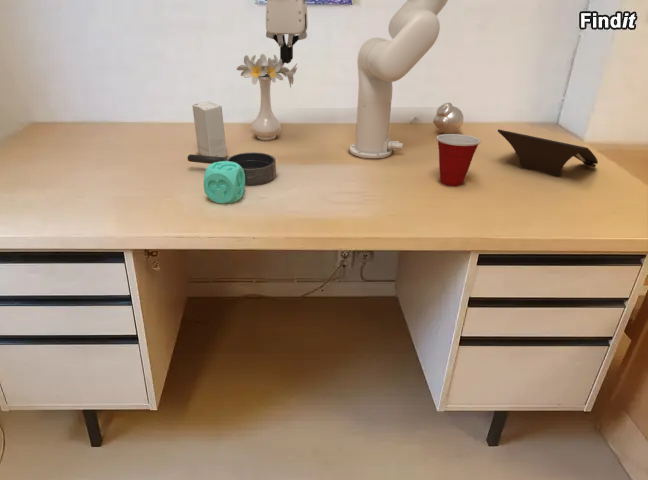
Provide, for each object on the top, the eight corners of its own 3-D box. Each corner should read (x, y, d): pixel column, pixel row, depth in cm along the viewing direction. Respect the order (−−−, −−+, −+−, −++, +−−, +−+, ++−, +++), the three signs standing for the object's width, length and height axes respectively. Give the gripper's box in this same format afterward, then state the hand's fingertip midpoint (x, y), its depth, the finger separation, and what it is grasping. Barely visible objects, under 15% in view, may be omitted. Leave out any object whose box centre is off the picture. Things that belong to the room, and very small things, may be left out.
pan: (281, 170, 153) (281, 154, 151) (267, 188, 142) (266, 171, 140) (237, 165, 156) (236, 150, 154) (219, 183, 145) (218, 166, 143)
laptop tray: (592, 190, 154) (606, 158, 152) (576, 176, 136) (591, 139, 134) (512, 170, 167) (523, 140, 166) (487, 155, 149) (500, 121, 147)
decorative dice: (216, 189, 142) (214, 159, 138) (246, 192, 140) (244, 162, 136) (204, 202, 135) (201, 171, 131) (235, 205, 133) (233, 173, 129)
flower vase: (298, 142, 173) (298, 58, 160) (239, 143, 173) (235, 59, 160) (295, 130, 184) (296, 50, 171) (240, 131, 184) (236, 51, 171)
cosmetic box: (227, 157, 162) (224, 106, 155) (209, 161, 160) (204, 109, 152) (214, 149, 168) (210, 100, 161) (196, 153, 166) (191, 103, 158)
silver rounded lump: (430, 129, 184) (434, 98, 179) (459, 130, 183) (464, 99, 178) (432, 137, 177) (436, 105, 171) (463, 138, 175) (468, 106, 170)
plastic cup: (474, 177, 148) (482, 132, 141) (471, 192, 139) (480, 146, 133) (432, 172, 151) (438, 129, 144) (428, 187, 142) (434, 141, 136)
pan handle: (230, 164, 150) (229, 156, 149) (227, 166, 149) (226, 159, 148) (189, 160, 153) (188, 153, 152) (186, 162, 151) (185, 155, 150)
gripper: (319, -17, 137) (317, 61, 146) (262, -18, 140) (263, 58, 150) (312, -15, 131) (310, 66, 140) (252, -16, 134) (255, 63, 144)
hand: (286, 62), depth 145 cm, fingers closed
